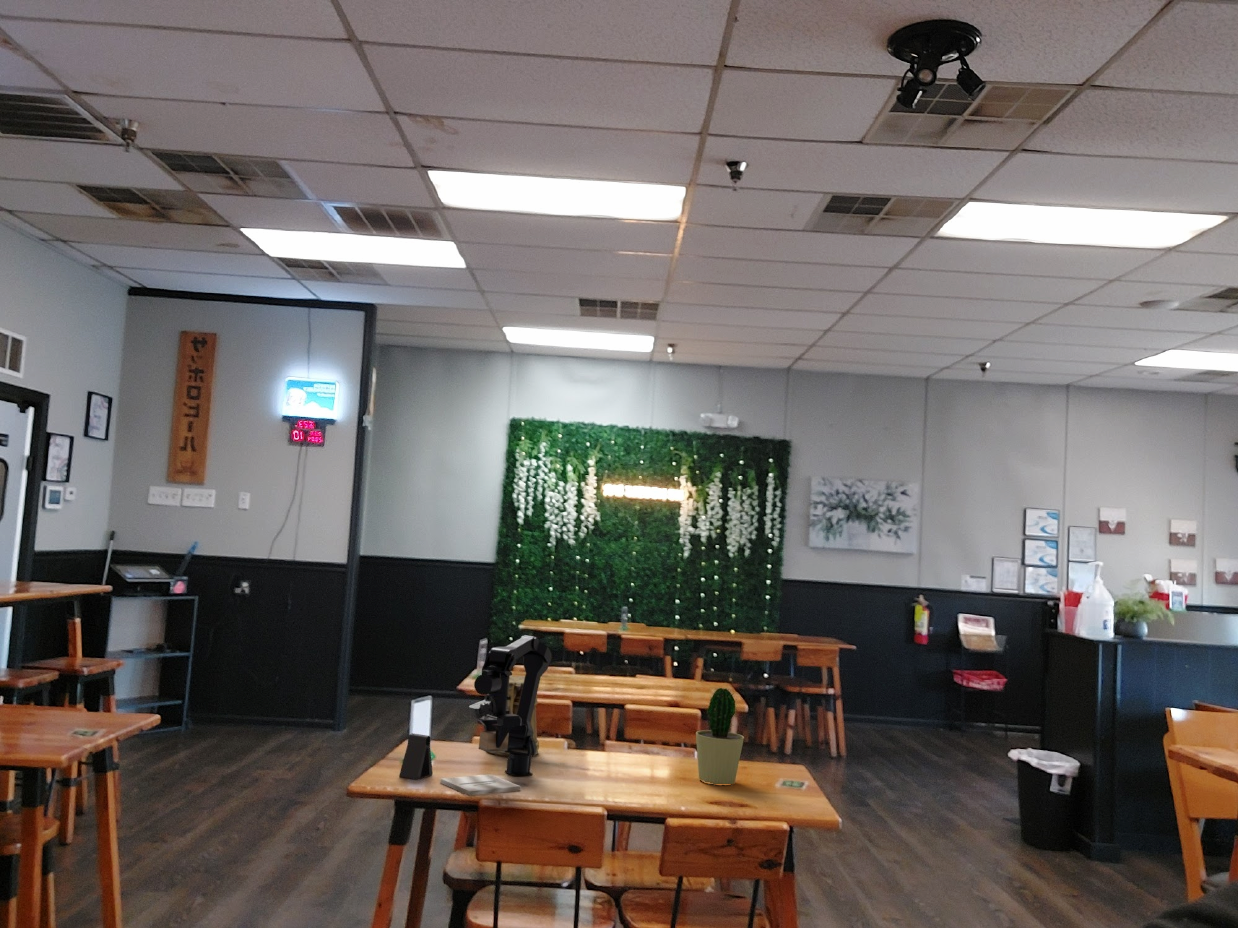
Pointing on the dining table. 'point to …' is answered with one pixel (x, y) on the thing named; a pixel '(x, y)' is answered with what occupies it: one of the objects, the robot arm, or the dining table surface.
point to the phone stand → (417, 758)
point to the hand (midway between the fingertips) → (493, 745)
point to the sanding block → (491, 742)
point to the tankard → (512, 706)
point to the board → (480, 784)
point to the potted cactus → (719, 742)
